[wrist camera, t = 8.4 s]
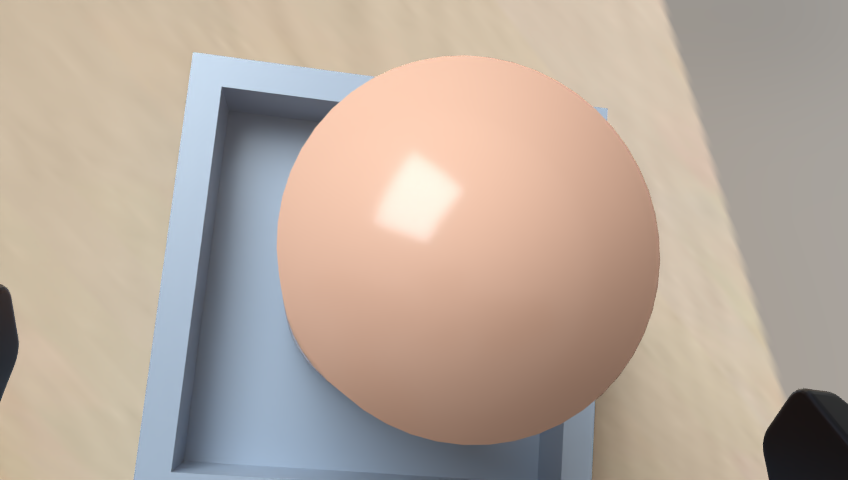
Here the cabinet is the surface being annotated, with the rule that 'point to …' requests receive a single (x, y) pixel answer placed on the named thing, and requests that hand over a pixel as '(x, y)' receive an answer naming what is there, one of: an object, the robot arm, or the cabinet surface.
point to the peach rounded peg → (467, 250)
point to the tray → (276, 316)
